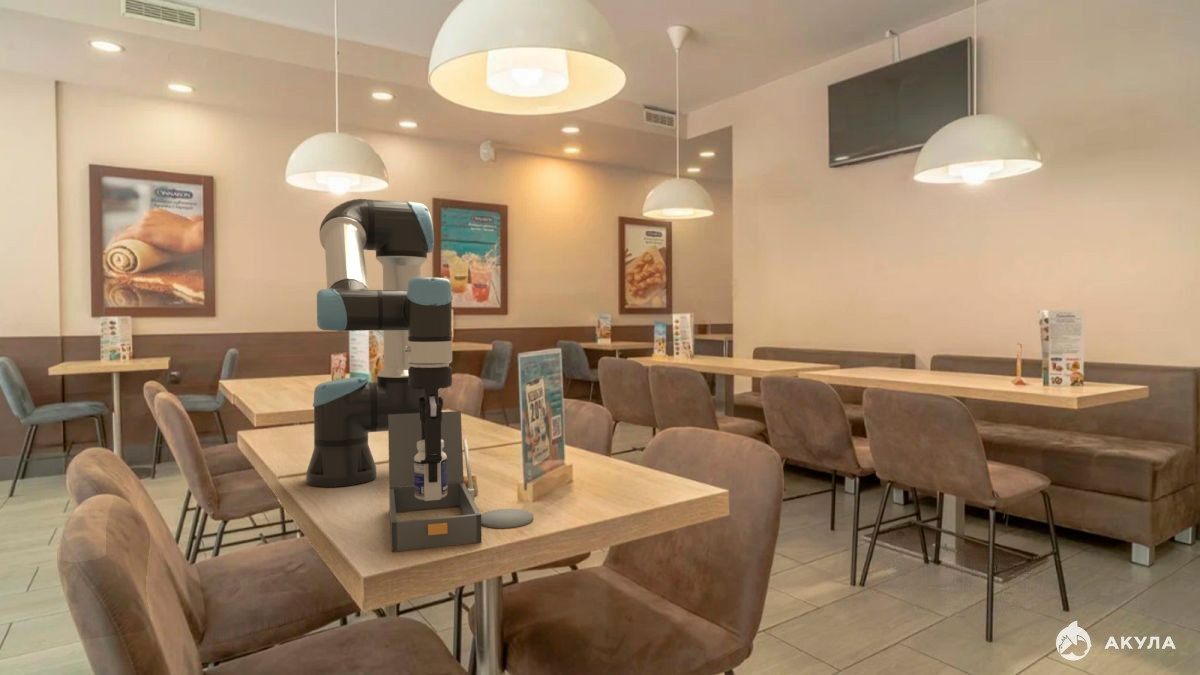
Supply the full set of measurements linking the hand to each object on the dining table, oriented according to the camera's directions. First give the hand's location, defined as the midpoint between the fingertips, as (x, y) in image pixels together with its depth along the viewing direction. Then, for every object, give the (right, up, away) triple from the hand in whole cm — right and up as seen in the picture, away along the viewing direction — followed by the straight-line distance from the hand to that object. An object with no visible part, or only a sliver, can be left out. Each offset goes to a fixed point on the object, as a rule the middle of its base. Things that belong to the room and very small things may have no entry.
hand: (431, 494), depth 118 cm
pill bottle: (0, -1, 0) cm, 1 cm away
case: (0, -5, +1) cm, 6 cm away
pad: (+13, -5, +3) cm, 14 cm away
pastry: (0, -5, +22) cm, 23 cm away
